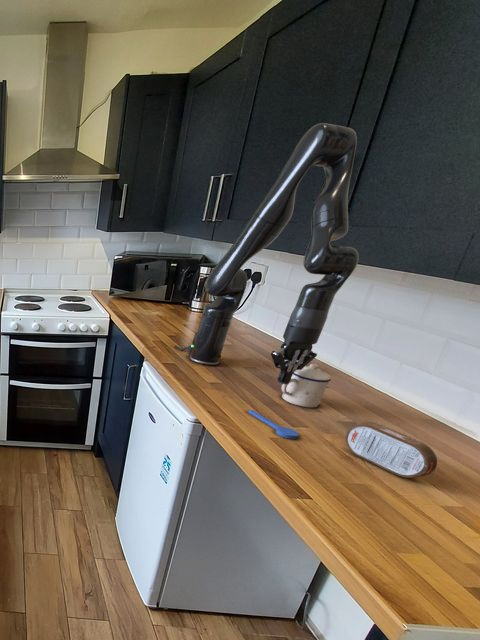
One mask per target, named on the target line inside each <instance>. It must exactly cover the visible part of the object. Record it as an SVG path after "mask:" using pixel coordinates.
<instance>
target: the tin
mask: <svg viewBox="0 0 480 640" xmlns="http://www.w3.org/2000/svg"><path fill="white" fill-rule="evenodd" d="M345 443H346V446H347V447H348V449H349V450H350V452H352V453H353V454H354V455H356V456H357V457H359V458H361V459H363V460H365V461H367V462H369V463H371V464H373V465H374V466H377V467H379V468H381V469H383V470H385V471H387V472H389V473H391V474H393V475H395V476H398V477H400V478H406V479H415V478H416V479H417V478H420V477H426V476H429V475H430V474H432V473H433V472H434V471H435V470H436V468H437V466H438V457H437V455H436V452H435V451H434V450H433V449H432V448H431V447H430V446H429V445H428V444H427V443H425V442H423V441H421V440H419V439H416V438H415V437H412V436H410V435H407V434H405V433H402V432H401V431H398V430H395V429H393V428H391V427H389V426H386V425H384V424H382V423H378V422H375V421H363V422H360V423H358V424H354V425H353V426H352V425H351V426H350V428H348V430H347V431H346V433H345Z"/></svg>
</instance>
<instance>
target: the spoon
mask: <svg viewBox="0 0 480 640" xmlns="http://www.w3.org/2000/svg"><path fill="white" fill-rule="evenodd" d="M247 413H248V414H249V415H251V416H253V417H254V418H256V419H258V420H259V421H261V422H262V423H264V424H266V425H267V426H269V427H271V428H273V429H274V430H275V433H276V434H277V435H278V436H279V437H282V438H284V439H288V440H297V439H298V437H299V432H298V431H296V430H294V429H292V428H290V427H286V426H280V425H278V424H277V423H276V422H274V421H272V420H270V419H268V418H267V417H265V416H263V415H262V414H261V413H258V412H257V411H255V410H253V409H248V411H247Z"/></svg>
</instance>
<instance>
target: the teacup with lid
mask: <svg viewBox="0 0 480 640" xmlns="http://www.w3.org/2000/svg"><path fill="white" fill-rule="evenodd" d="M331 380H332V376H331V375H329V373H327V372H324V371H323V370H322V369H320V366H319V364H316V363H309V365H306V366H305V367H304V368H303V369H301V370H296V371H295V372H294V373H293V375H292V377H291V380H290V381H289V383H288V384H281V392H282V395H281V397H282V399H283V400H284V401H285V402H287V403H289V404H292V405H295V406H299V407H302V408H309V409H310V408H317V407H318V406H320V403H321V400H322V399H323V395H324V394H325V391H326V389H327V387H328V385H329V382H332V381H331Z"/></svg>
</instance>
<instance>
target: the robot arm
mask: <svg viewBox="0 0 480 640" xmlns="http://www.w3.org/2000/svg"><path fill="white" fill-rule="evenodd" d="M357 142H358V137H357V132H356V131H355V130H354V129H353V128H351V127H349V126H345V125H344V126H343V125H340V124H339V125H338V124H333V123H327V122H320V123H319V122H318V123H316V124H314V125H313V126H311V128H309V129H308V130H307V131H306V132H305V133H304V135H302V137H301V138H300V140H299V141H298V142H297V144H296V146H295V147H294V149H293V150H292V153H291V154H290V156H289V157H288V160H287V161H286V163H285V164H284V167H283V168H282V170H281V172H280V174H279V176H278V177H277V179H276V180H275V182H274V183H273V185H272V186H271V188H270V190H269V191H268V193H267V194H266V196H265V197H264V199H263V200H262V202H261V203H260V204H259V206H258V207H257V209H256V210H255V211H254V212H253V214H252V215H251V217H250V218H249V220H248V221H247V223H246V225H245V227H244V228H243V230H241V232H240V234H239V235H238V236H237V238H236V239H235V241H234V242H233V243H232V245H231V247H230V248H229V249H228V250H227V252H226V253H225V254H224V256H223V257H222V258H221V259H220V260H219V262H218V263H217V264H216V265H215V266H214V267H213V269H212V270H211V271H210V273H209V274H208V276H207V278H206V280H205V284H204V288H205V292H206V294H208V295H209V296H212V297H215V299H214V300H213V301H211V302H210V303H207V304H206V305H205V306H204V307H203V311H202V314H201V317H200V321H199V325H198V328H197V331H196V332H195V333H194V335H193V340H192V343H191V345H188V346H185V347H184V348H180V347H179V346H177V344H176V345H174V346H173V347H174V348H176V349H177V350H179V351H182V352H183V351H185V350H186V352H187V353H188V358H189V360H190V361H192V362H193V363H196V364H200V365H204V366H217V365H219V363H220V360H221V357H222V352H223V349H224V346H225V342H226V339H227V337H228V334H229V329H230V326H231V323H232V320H233V318H234V315H235V313H236V312H237V311H238V310H239V307H240V304H241V302H242V299H243V297H244V295H245V292H246V288H247V286H248V285H247V284H248V276H247V272H246V271H245V270H243V269H242V267H243V266H244V265H245V264H246V263H247V262H249V260H251V258H253V257H254V256H256V255H257V254H258V253H260V252H261V251H263V250H264V249H265V248H267V247H268V246H269V245H270V244H272V243H273V242H274V241H275V240H276V239H277V238H278V237H279V236H280V234H281V233H282V231H283V230H284V229H285V227H286V226H287V225H288V223H289V222H290V220H291V219H292V217H293V214H294V210H295V204H296V203H295V201H296V195H297V189H298V187H299V184H300V183H301V181H302V179H303V178H304V176H305V175H306V174H307V172H308V170H309V169H310V168H311V167H312V166H314V167H321V168H323V170H324V176H325V181H324V184H323V187H322V189H321V191H320V193H319V194H318V196H317V197H316V199H315V200H314V202H313V205H312V208H311V213H310V227H311V229H310V231H311V234H310V238H309V242H308V245H307V248H306V250H305V254H304V257H303V262H302V263H303V267H304V270H305V271H306V272H307V273H309V274H311V275H322V276H323V277H322V278H321V279H320V280H319V281H316V282H313V283H308V284H305V285H303V286H302V288H301V290H300V293H299V296H298V298H297V301H296V304H295V306H294V308H293V310H292V312H291V313H290V316H289V319H288V322H287V324H286V327H285V330H284V332H283V335H282V338H283V340H284V341H283V342H282V344H281V345H280V348H279V349H277V350H272V351H271V352H270V355H271V359H272V361H273V365H274V366H275V368H276V369H280V371H279V374H278V375H277V376H278V377H277V383H279V384H281V385H283V384H288V383H289V381H290V380H291V377H292V375H293V373H294V372H295V371H296V370H301V369H303V368H304V367H306V366H308V364H310V363H311V361H312V362H313V360H314V359H315V358H317V356H318V353H316V352H313V345H316V344H317V343H318V341H319V338H320V336H321V335H322V332H323V329H324V327H325V324H326V322H327V320H328V316H329V312H330V309H331V307H332V304H333V302H334V299H335V296H336V294H337V293H338V292H339V290H341V288H342V287H343V285H344V284H345V283H346V282H347V280H348V279H349V278H350V277H351V275H352V274H353V272H354V271H355V270H356V268H357V266H358V263H359V259H360V257H359V256H360V255H359V252H358V250H357V249H356V248H354V247H352V246H344V245H343V246H341V245H331V242H332V241H337V240H339V239H341V238H343V237H344V236H346V235H347V234H348V231H349V203H348V202H349V189H350V183H351V178H352V174H353V168H354V167H353V166H354V162H355V156H356V151H357Z"/></svg>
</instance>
